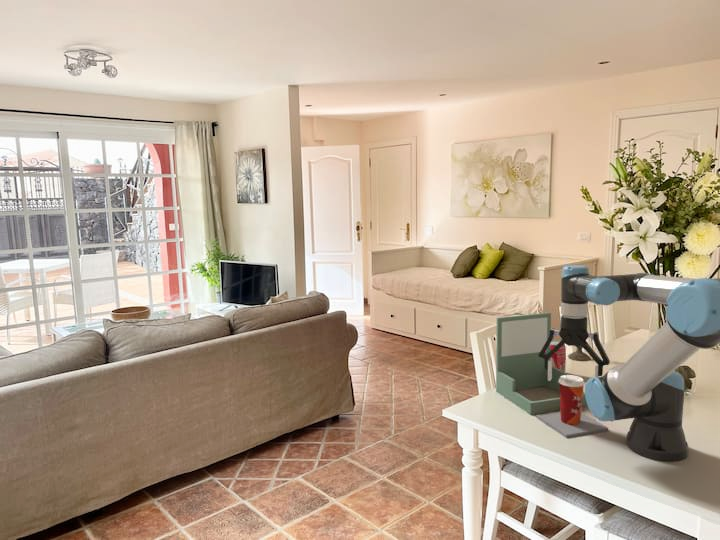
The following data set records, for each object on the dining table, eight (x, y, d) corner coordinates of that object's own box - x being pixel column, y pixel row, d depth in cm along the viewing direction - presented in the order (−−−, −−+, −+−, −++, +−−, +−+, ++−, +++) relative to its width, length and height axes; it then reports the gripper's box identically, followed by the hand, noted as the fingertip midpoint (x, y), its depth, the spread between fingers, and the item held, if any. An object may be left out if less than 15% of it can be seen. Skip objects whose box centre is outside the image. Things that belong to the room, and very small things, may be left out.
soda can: (567, 372, 209) (567, 341, 207) (563, 378, 203) (563, 346, 201) (548, 370, 213) (549, 339, 211) (544, 375, 207) (545, 343, 205)
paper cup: (580, 428, 157) (581, 384, 155) (554, 422, 162) (555, 379, 160) (586, 419, 163) (587, 376, 162) (561, 414, 168) (562, 372, 166)
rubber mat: (608, 430, 157) (608, 427, 157) (565, 437, 153) (566, 435, 153) (575, 411, 172) (575, 409, 172) (536, 417, 168) (536, 415, 168)
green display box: (587, 406, 176) (589, 325, 172) (530, 414, 170) (531, 332, 166) (547, 384, 197) (549, 312, 193) (496, 391, 191) (496, 317, 187)
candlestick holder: (589, 355, 230) (591, 289, 226) (591, 361, 222) (593, 293, 218) (567, 354, 233) (568, 288, 229) (568, 360, 224) (570, 292, 220)
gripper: (620, 316, 155) (618, 384, 158) (534, 310, 167) (533, 373, 170) (618, 321, 148) (616, 392, 151) (529, 315, 161) (528, 380, 164)
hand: (572, 382), depth 161 cm, fingers open, 13 cm apart
